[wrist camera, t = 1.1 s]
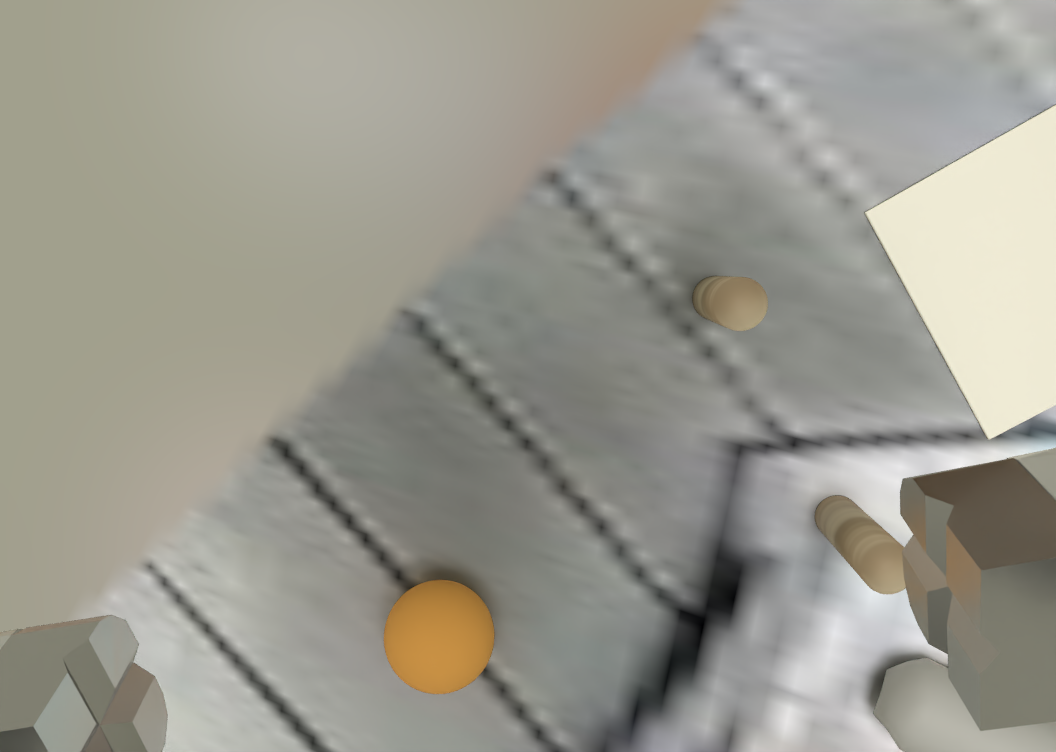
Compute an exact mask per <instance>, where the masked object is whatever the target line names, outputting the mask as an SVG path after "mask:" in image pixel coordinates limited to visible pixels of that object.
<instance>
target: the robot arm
mask: <svg viewBox="0 0 1056 752" xmlns="http://www.w3.org/2000/svg"><path fill="white" fill-rule="evenodd" d="M900 514H901V516H902V517H903V519H904V520H905V522H906V523H907V525H908V527H909V528H910V530H911V531H912V533H913V534H914V535H913V536H912V538H911V539H910V540H909V542H908V543H907V545H906V546H905V547H904V549H903V550H902V559H903V573H904V581H905V585H906V590H907V594H908V598H909V602H910V606H911V609H912V611H913V614H914V616H915V618H916V621H917V623H918V626H919V627H920V629H921V631H922V633H923V635H924V636H925V638H926V640H927V642H928V643H929V644H930V645H932V646H933V647H935V648H937V649H939V650H941V651H943V652H945V653H947V654H948V678H949V679H950V681H951V683H952V684H953V686H954V688H955V690H956V691H957V693H958V695H959V696H960V698H961V700H962V701H963V703H964V705H965V706H966V708H967V710H968V711H969V713H970V715H971V716H972V718H973V720H974V721H975V723H976V725H977V726H978V728H979V730H980V731H985V730H993V729H1001V728H1009V727H1017V726H1025V725H1034V724H1042V723H1050V722H1056V448H1053V449H1048V450H1043V451H1038V452H1034V453H1029V454H1024V455H1019V456H1014V457H1009V458H1007V459H1005V460H1000V461H994V462H989V463H984V464H978V465H973V466H968V467H963V468H957V469H952V470H947V471H941V472H936V473H931V474H925V475H920V476H915V477H909V478H904V479H903V481H902V485H901V490H900ZM138 646H139V643H138V641H137V640H136V638H135V636H134V634H133V632H132V630H131V629H130V627H129V625H128V623H127V621H126V620H124V619H122V618H119V617H116V616H114V615H107V616H101V617H94V618H87V619H81V620H74V621H68V622H61V623H55V624H48V625H41V626H34V627H28V628H25V629H15V630H9V631H4V632H0V752H162V750H163V748H164V745H165V740H166V729H167V718H168V714H167V710H166V705H165V700H164V695H163V692H162V690H161V688H160V686H159V684H158V682H157V680H156V678H155V676H154V675H152V674H151V673H149V672H148V671H146V670H144V669H143V668H141V667H140V666H138V665H137V664H135V663H133V661H134V658H135V655H136V652H137V649H138Z"/></svg>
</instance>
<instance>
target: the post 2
mask: <svg viewBox="0 0 1056 752" xmlns="http://www.w3.org/2000/svg"><path fill="white" fill-rule="evenodd" d="M815 522H816V525H817V527H818V528H819V530H820V531H821V532H822V533H823V534H824V536H825V537H826V538H827V539H828V540H829V541H830V542H831V544H832V545H833V546H834V547H835V548H836V549H837V551H838V552H839V553H840V554H841V555H842V556H843V557H844V559H845V560H846V561H847V562H848V563H849V564H850V566H851V567H852V568H853V569H854V570H855V571H856V573H857V574H858V575H859V576H860V577H861V578H862V579H863V581H864V582H865V583H866V584H867V585H868V586H869V587H870V588H871V589H872V590H874V591H876V592H878V593H882V594H894V593H898V592H900V591H902V590H904V589H905V588H906V585H905V581H904V573H903V559H902V550H903V549H904V547H903V546H902V545H901V544H900V543H899V542H898V541H896V540H895V539H894V538H893V537H892V536H891V535H890V534H889V533H887V532H886V531H885V530H884V529H883V528H882V527H881V526H880V525H879V524H877V523H876V522H875V521H874V520H873V519H872V518H871V517H870V516H868V515H867V514H866V513H865V512H864V511H863V510H862V509H861V508H860V507H858V506H857V505H856V504H855V503H854V502H853V501H852V500H850V499H849V498H847V497H844V496H839V495H835V496H830V497H828V498H826V499H824V500H823V501H822V502H821V503H820V504H819V505H818V507H817V509H816V512H815Z"/></svg>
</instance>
